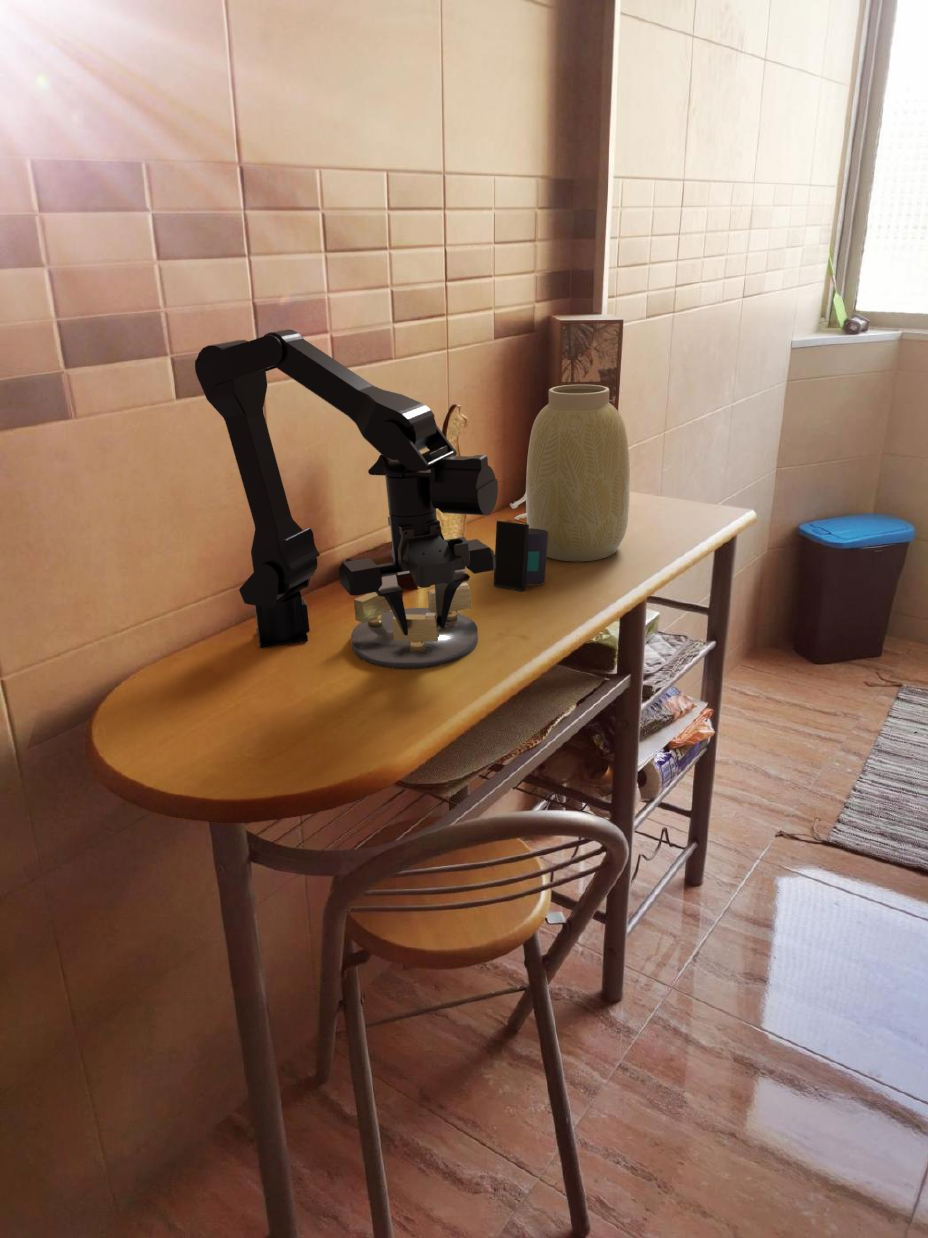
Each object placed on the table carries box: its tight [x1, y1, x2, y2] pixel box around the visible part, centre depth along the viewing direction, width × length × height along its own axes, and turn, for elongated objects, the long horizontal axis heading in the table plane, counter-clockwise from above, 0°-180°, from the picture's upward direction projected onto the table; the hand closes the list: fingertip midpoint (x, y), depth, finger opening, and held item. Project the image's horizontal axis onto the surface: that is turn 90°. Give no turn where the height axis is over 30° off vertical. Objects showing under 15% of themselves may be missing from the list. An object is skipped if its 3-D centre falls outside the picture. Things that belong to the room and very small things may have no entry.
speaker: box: [493, 520, 548, 593], centre depth 142 cm, size 8×6×10 cm
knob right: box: [427, 582, 472, 622], centre depth 127 cm, size 6×2×5 cm, turn 106°
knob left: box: [353, 592, 392, 628], centre depth 126 cm, size 6×2×5 cm, turn 141°
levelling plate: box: [350, 607, 479, 670], centre depth 125 cm, size 17×17×2 cm
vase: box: [525, 384, 631, 562], centre depth 154 cm, size 17×17×27 cm
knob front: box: [392, 613, 439, 652], centre depth 118 cm, size 6×2×5 cm, turn 82°
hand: (423, 630), depth 117 cm, fingers closed on knob front, 4 cm apart
